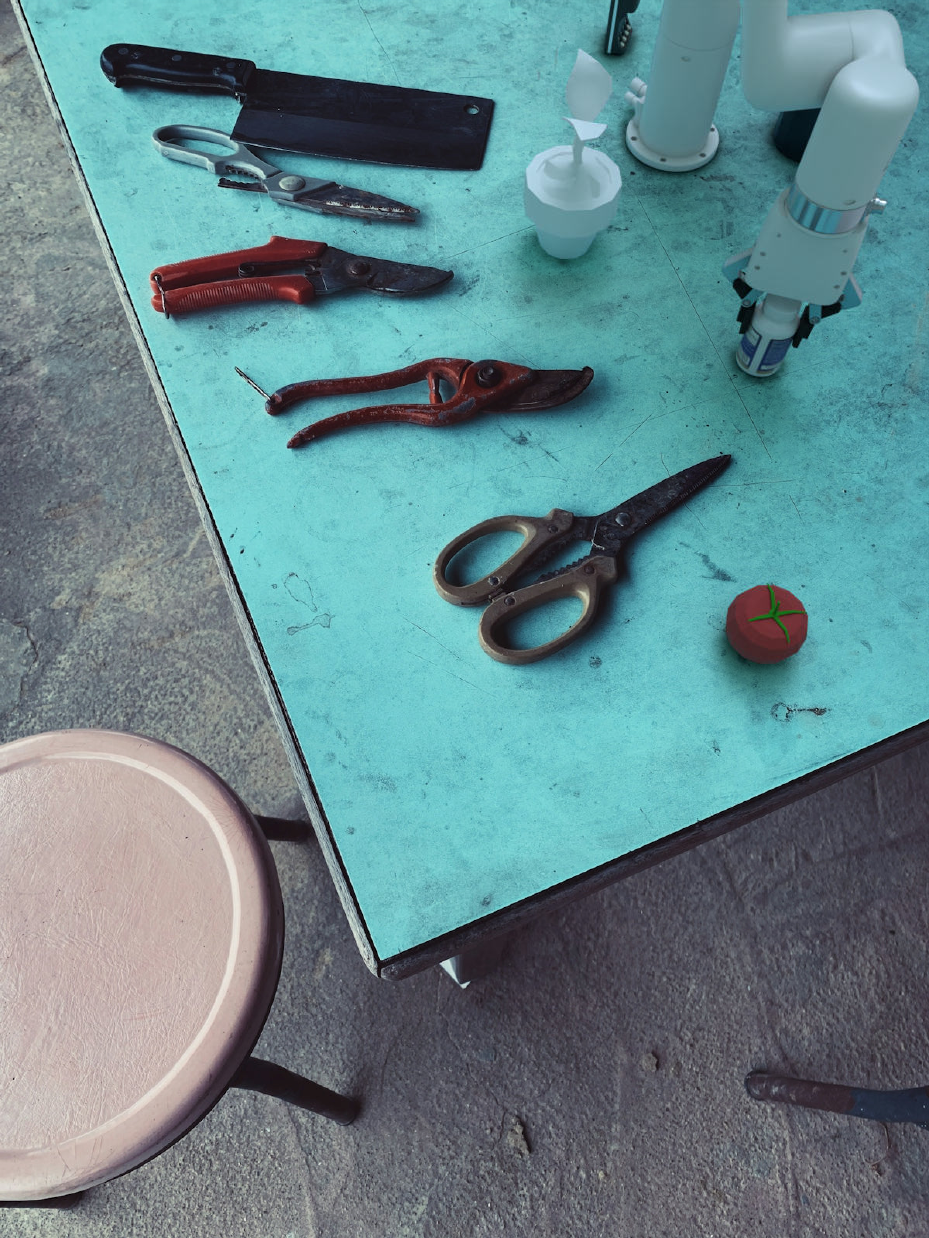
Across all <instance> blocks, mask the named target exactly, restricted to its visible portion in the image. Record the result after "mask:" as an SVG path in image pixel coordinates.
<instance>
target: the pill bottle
mask: <svg viewBox="0 0 929 1238" xmlns="http://www.w3.org/2000/svg"><path fill="white" fill-rule="evenodd" d="M802 306H803V301H799V300H795V299H791V298H786V297H782V296H778V295H774V294H771V293H767V292H766V295H765V297H764V299H763V301H761V302H759V303H758V304H756V307H755V311H754V313H753V316H752V318H751V321H750V323H749V326H748V328H747V331H746V333H745V334H743V335H742V337H741V340H740V341H739V345H738V348H737V350H736V353H735V359H736V363H737V365H738V366H739V368H740V369H741V370H742V371H743V372H745V373H746V374H748V375H751V376H754V377H759V378H760V377H763V378H764V377H769V376H771V375H774V374H775V373H776V372H777V371H778V370H779V369H780V368H781V366H782V364H783V362H784V359H785V357H786V355H787V353H788V351H789V349H790V347H791V346H792V341H793V338H794V336H795V334H796V332H797V330H798V327H799V324H800V317H801V315H800V311H801V309H802Z"/></svg>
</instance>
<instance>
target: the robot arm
mask: <svg viewBox="0 0 929 1238" xmlns="http://www.w3.org/2000/svg"><path fill="white" fill-rule="evenodd" d="M662 2H663V3H662V7H661V12H660V19H659V23H658V28H657V34H656V39H655V44H654V48H653V55H652V58H651V63H650V69H649V73H648V78H647V83H646V82H645V81H643V80H642V79H640V78H639V77H637V76H636V77H634V78H633V79H632V80H631V81H630V83H629V86H628V91H627V92H626V93H625V94H624V95H623V102H624V103H626V104H627V105H628V106H630V107H631V108H632V107H633V109H634V115H633V116H632V117H631V119H629V122H628V123H627V126H626V133H625V142H626V146H627V148H628V149H629V151H630V152H631V154H632V155H633V156H634V157H635V158H636V159H637V160H639V161H640V162H641V163H643V164H645V165H647V166H649V167H652V168H654V169H657V170H661V171H664V172H673V173H675V172H676V173H678V172H687V171H693V170H695V169H698V168H701V167H703V166H705V165H707V164H708V163H709V162H710V161H711V160H713V158H714V156H715V155H716V153H717V150H718V147H719V143H720V133H719V131H718V129H717V127H716V125H715V123H714V118H715V115H716V111H717V107H718V104H719V101H720V96H721V93H722V89H723V86H724V82H725V79H726V74H727V71H728V68H729V64H730V60H731V57H732V53H733V50H734V45H735V43H736V38H737V35H738V31H739V27H740V26H741V28H740V42H739V43H740V46H739V76H740V84H741V89H742V93H743V95H744V97H745V100H746V101H747V103H748V104H749V105H750V106H751V107H752V108H754V109H755V110H757V111H760V112H764V113H780V112H783V111H794V110H804V109H814V108H821V111H820V113H819V116H818V119H817V121H816V124H815V126H814V129H813V131H812V134H811V137H810V139H809V142H808V144H807V147H806V149H805V152H804V154H803V157H802V160H801V162H799V165H798V167H797V169H796V173H795V175H794V177H793V180H792V183H791V185H790V187H785V188H784V189H782V190H781V192H780V193H779V194H778V196H777V197H776V198H775V200H774V201H773V204H772V205H771V207H770V209H769V210H768V213H767V214H766V216H765V218H764V220H763V222H762V224H761V226H760V229H759V232H758V233H757V235H756V238H755V240H754V243H753V245H752V246H751V247H749V248H746V249H744V250H743V251H741V252H739V253H737V254H735V255H733V256H731V257H728V258H727V259H725V260H724V261H723V263H722V267H721V273H722V275H723V276H724V277H725V279H727V281H728V282H729V283H731V285H732V286H731V287H732V289H733V290H734V291H735V292H736V294H737V296H738V297H739V298H740V300H741V301H740V308H739V310H738V312H737V315H736V320H735V322H737V323H740V326H739V329H738V335H742V336H743V334H745V333H746V331H747V328H748V326H749V323H750V321H751V318H752V316H753V313H754V311H755V307H756V306H757V303H758V300H759V298H760V297H761V296H762V295H763V294H764V293H766V294H767V293H771V294H774V295H778V296H782V297H786V298H791V299H795V300H799V301H802V303H808V304H807V305H805V307H804V308H803V311H802V313H801V315H800V324H799V327H798V330H797V332H796V334H795V336H794V338H793V340H792V342H791V347H792V348H793V349H799V347H800V345H801V342H802V340H804V339H806V340H808V339H809V337H810V335H811V334H812V331H813V330H814V327H815V325H818V324H820V323H821V322H822V319H825V318H829V317H831V316H834V315H837V314H839V313H840V312H842V311H846V310H849V309H853V308H856V307H859V306H861V304H862V301H863V295H864V294H863V292H862V289H861V288H860V286H859V283H858V281H857V279H856V277H855V276H854V273H853V269H854V266H855V264H856V261H857V259H858V256H859V252H860V249H861V246H862V244H863V241H864V238H865V235H866V232H867V228H868V225H869V222H870V216H871V215H874V214H877V215H883V213H884V211H885V209H886V206H887V203H888V199H884V198H882V197H880V196H879V195H877V193H878V192H877V190H878V188H879V186H880V184H881V182H882V180H883V178H884V176H885V174H886V172H887V170H888V168H889V166H890V164H891V162H892V160H893V158H894V155H895V153H896V152H897V149H898V147H899V145H900V143H901V141H902V140H903V137H904V136H905V133H906V131H907V129H908V127H909V124H910V122H911V120H912V118H913V117H914V115H915V112H916V111H917V107H918V105H919V100H920V87H919V84H918V81H917V78H916V77H915V76H914V74H912V72H911V71H910V70H909V69H907V65H906V57H905V51H904V38H903V34H902V31H901V28H900V24H899V22H898V20H897V19H896V17H895V16H894V15H893V14H892V13H891V12H890V11H887V10H883V9H876V8H873V9H871V8H870V9H868V8H867V9H856V10H847V11H830V12H817V13H807V14H795V15H788V6H789V0H742V4H741V0H663V1H662ZM740 23H741V25H740ZM744 269H746V270H745V271H742V270H744Z"/></svg>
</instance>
